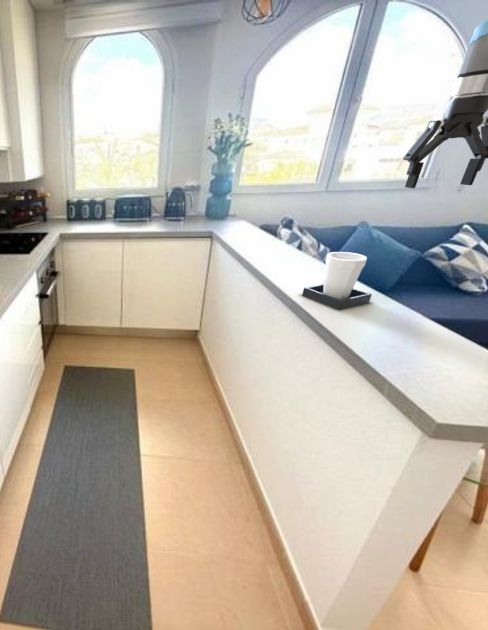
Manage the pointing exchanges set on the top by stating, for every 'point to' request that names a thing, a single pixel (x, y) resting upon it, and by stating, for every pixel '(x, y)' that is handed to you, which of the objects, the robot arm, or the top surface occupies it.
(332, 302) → the dark grey square tray
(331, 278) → the foam cup
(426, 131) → the robot arm
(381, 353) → the top surface
